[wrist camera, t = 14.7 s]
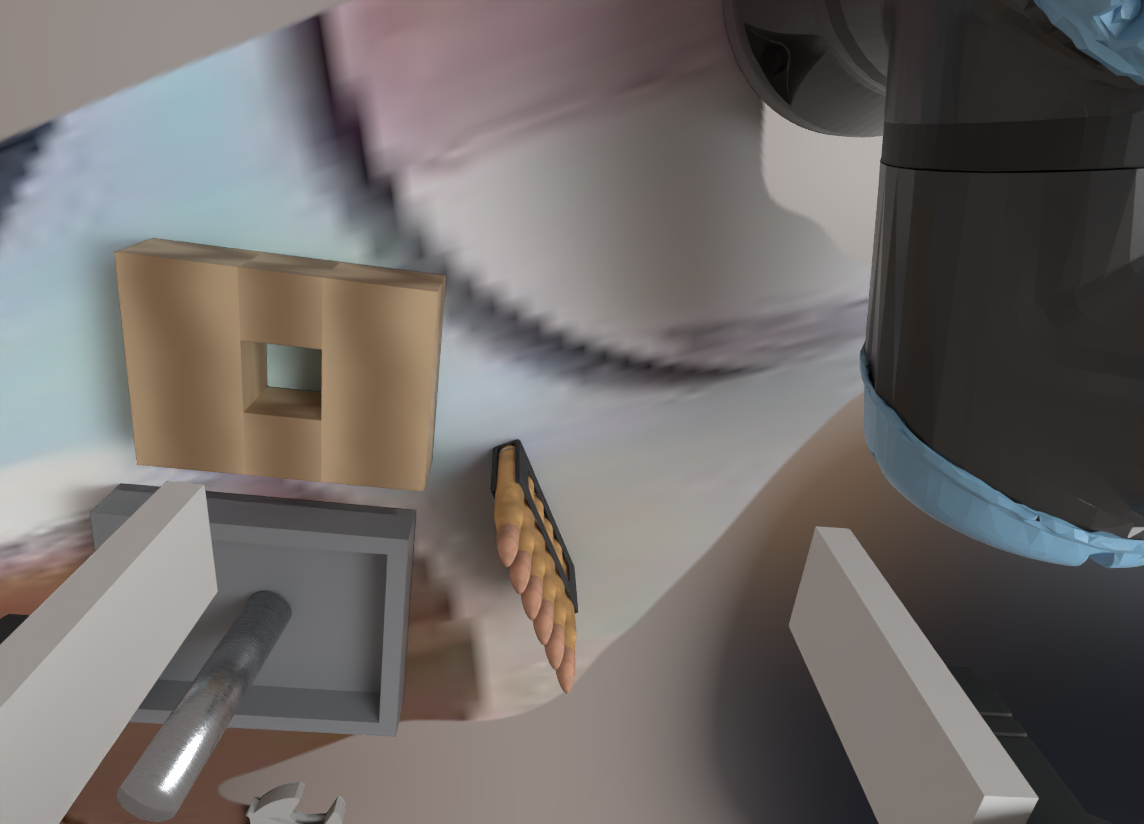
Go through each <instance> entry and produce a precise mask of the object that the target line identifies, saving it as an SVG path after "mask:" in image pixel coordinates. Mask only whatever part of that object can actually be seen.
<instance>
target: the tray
mask: <svg viewBox="0 0 1144 824" xmlns="http://www.w3.org/2000/svg"><path fill="white" fill-rule="evenodd" d="M159 488H160V487H154V486H142V485H131V484H120V485H119V486H118V487H117V488H116V489H115V490H113V491H112V492H111V493H110V494H109V495H108V496H107V497H106V498H105V499H104V500H103V501H102V502H101V503H100V504H98V505H97V506H96V507H95V508H94V509H93V510H92V511H91V512H90V519H91V526H92V533H93V540H94V547H95V551H96V550H97V549H98V548H99V547H100V546H101V545H102V544H103V543H104V542H105V541H106V540H107V539H108V538H109V537H110V536H111V535H112V534H113V533H114V532H116V531H117V530H118V529H119V528H120V527H121V526H122V525H123V524H124V523H125V522H126V521H127V520H128V519H129V518H130V517H131V516H132V515H133V514H134V513H135V512H136V511H137V510H138V509H139V508H140V507H141V506H142V505H143V504H144V503H145V502H146V501H147V500H148V499H149V498H150V497H151V496H152V495H153V494H154V493H155V492H156V491H157V490H158V489H159ZM205 493H206V501H207V509H208V517H209V525H210V533H211V541H212V549H213V557H214V566H215V574H216V582H217V590H218V592H217V593H216V595H215V596H214V598H213V599H212V600H211V602H210V603H209V605H208V606H207V608H206V609H205V611H204V612H203V614H202V615H201V617H200V618H199V619H198V621H197V622H196V624H195V625H194V627H193V628H192V630H191V631H190V633H189V634H188V636H187V637H186V638H185V640H184V641H183V643H182V644H181V646H180V647H179V649H178V650H177V652H176V653H175V655H174V656H173V657H172V659H171V660H170V662H169V663H168V665H167V666H166V668H165V669H164V671H163V672H162V674H161V675H160V677H159V678H158V679H157V681H156V682H155V684H154V685H153V687H152V688H151V690H150V691H149V693H148V694H147V696H146V697H145V698H144V700H143V701H142V703H141V704H140V706H139V707H138V709H137V710H136V712H135V713H134V715H133V716H132V717H131V719H130V720H129V722H140V723H158V724H164V723H165V721H166V720H167V718H168V717H169V715H170V714H171V712H172V711H173V710H174V708H175V707H176V705H177V704H178V702H179V701H180V699H181V698H182V696H183V695H184V694H185V692H186V691H187V689H188V688H189V686H190V685H191V683H192V682H193V680H194V679H195V677H196V676H197V675H198V673H199V672H200V670H201V669H202V667H203V666H204V664H205V663H206V661H207V660H208V659H209V657H210V656H211V654H212V653H213V651H214V650H215V648H216V647H217V645H218V644H219V643H220V641H221V640H222V638H223V637H224V635H225V634H226V632H227V631H228V629H229V628H230V627H231V625H232V624H233V622H234V621H235V619H236V618H237V616H238V615H239V613H240V612H241V611H242V609H243V608H244V606H245V605H246V603H247V602H248V600H249V599H250V597H251V596H253V595H254V594H256V593H259V592H271V593H275V594H277V595H279V596H281V597H282V598H284V599H285V600H286V601H287V602H288V603H289V605H290V607H291V610H292V616H291V619H290V620H289V622H288V624H287V626H286V627H285V629H284V631H283V632H282V634H281V636H280V637H279V639H278V641H277V643H276V644H275V646H274V648H273V649H272V651H271V653H270V654H269V656H268V658H267V660H266V661H265V663H264V665H263V666H262V668H261V670H260V671H259V673H258V675H257V677H256V678H255V680H254V682H253V683H252V685H251V687H250V688H249V690H248V692H247V694H246V695H245V697H244V699H243V700H242V702H241V704H240V705H239V707H238V709H237V711H236V712H235V714H234V716H233V717H232V719H231V721H230V722H229V724H228V726H227V727H231V728H249V729H267V730H285V731H303V732H321V733H339V734H357V735H375V736H394V737H395V736H396V733H397V729H398V724H399V719H400V714H401V709H402V705H403V700H404V687H405V672H406V657H407V642H408V627H409V612H410V597H411V582H412V567H413V552H414V537H415V522H416V510H408V509H397V508H386V507H375V506H364V505H353V504H342V503H331V502H320V501H309V500H297V499H286V498H275V497H264V496H253V495H242V494H231V493H220V492H209V491H205Z"/></svg>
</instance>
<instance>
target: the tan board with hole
mask: <svg viewBox="0 0 1144 824" xmlns="http://www.w3.org/2000/svg"><path fill="white" fill-rule="evenodd" d="M114 254H115V264H116V273H117V283H118V292H119V301H120V311H121V320H122V329H123V339H124V348H125V357H126V367H127V376H128V386H129V395H130V404H131V414H132V423H133V432H134V442H135V451H136V461H137V465H146V466H156V467H167V468H178V469H189V470H199V471H210V472H221V473H231V474H242V475H253V476H263V477H274V478H285V479H296V480H306V481H317V482H328V483H338V484H349V485H360V486H371V487H381V488H392V489H403V490H413V491H424V490H425V486H426V482H427V479H428V475H429V471H430V467H431V463H432V458H433V444H434V431H435V417H436V404H437V390H438V377H439V363H440V350H441V337H442V323H443V310H444V296H445V283H446V275H439V274H431V273H423V272H415V271H407V270H399V269H391V268H383V267H376V266H368V265H360V264H352V263H344V262H336V261H328V260H320V259H313V258H305V257H297V256H289V255H281V254H273V253H265V252H258V251H250V250H242V249H234V248H226V247H218V246H210V245H202V244H195V243H187V242H179V241H171V240H163V239H155V238H152V239H149V240H146V241H144V242H141V243H138V244H135V245H132V246H129V247H127V248H124V249H121V250H118V251H115V252H114ZM266 343H269V344H278V345H286V346H295V347H304V348H313V349H322V392H315V391H305V390H296V389H286V388H277V387H268V386H267V348H266Z"/></svg>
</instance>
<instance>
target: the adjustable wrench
mask: <svg viewBox="0 0 1144 824" xmlns="http://www.w3.org/2000/svg"><path fill="white" fill-rule="evenodd" d="M304 787H305V783H302V782H295V783H288V784H284V785H280V786H278V787H275V788H274V789H272V790H270V791H268V792H267V793H265V794H264V795H263V796H262V797H261V798H260V797H257V796H254V799H253V801H252V804H251V805H250V807H249V809H248V811H247V813H246V816H247V817H249V819H250V824H343V821H344V817H345V812H346V804H345V802H344V799H343V798H342V797H340V796H338V797H337V799H336V800H335V801H334V803H333V804H332V806H331V808H330V809H329V810H328V812H327V813H319V814H306V813H304V812H301V811H298V810H295V807H296V806H297V804H298V802H299V801H300V799H301V796H302V793H303V790H304Z"/></svg>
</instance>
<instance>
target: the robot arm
mask: <svg viewBox="0 0 1144 824" xmlns="http://www.w3.org/2000/svg"><path fill="white" fill-rule="evenodd" d="M723 11H724V18H725V25H726V29H727V34H728V38H729V41H730V44H731V47H732V50H733V53H734V55H735V58H736V60H737V63H738V65H739V67H740V69H741V71H742V72H743V74H744V76H745V78H746V79H747V81H748V82H749V84H750V85H751V87H752V88H753V89H754V91H755V92H756V93H757V94H758V95H759V97H760V98H761V99H762V100H763V101H764V102H765V103H766V104H767V105H768V106H769V107H771V108H772V109H773V110H774V111H775V112H777V113H778V114H779V115H781V116H782V117H784V118H785V119H787V120H789V121H790V122H792V123H795V124H796V125H798V126H801V127H803V128H805V129H808V130H811V131H815V132H818V133H823V134H828V135H836V136H847V137H874V136H882V135H883V144H882V157H881V160H880V174H879V187H878V199H877V211H876V222H875V234H874V247H873V258H872V269H871V281H870V293H869V305H868V316H867V328H866V340H865V343H864V345H863V348H862V350H861V353H860V370H861V376H862V379H863V382H864V384H865V386H864V433H865V438H866V442H867V445H868V449H869V451H870V453H871V455H872V456H873V457H874V458H875V460H876V461H877V462H878V464H879V466H880V469H881V471H882V472H883V474H884V476H885V477H886V479H887V480H888V481H889V482H890V483H891V484H892V485H893V486H894V487H895V488H896V489H897V490H898V491H899V492H900V493H901V494H902V495H903V496H904V497H905V498H907V499H908V500H909V501H910V502H912V503H913V504H914V505H915V506H917V507H918V508H920V509H921V510H922V511H924V512H925V513H927V514H928V515H930V516H932V517H933V518H935V519H936V520H938V521H940V522H942V523H943V524H945V525H947V526H949V527H951V528H953V529H955V530H957V531H959V532H961V533H963V534H965V535H967V536H969V537H971V538H973V539H976V540H978V541H981V542H983V543H985V544H988V545H991V546H993V547H996V548H999V549H1002V550H1005V551H1008V552H1011V553H1014V554H1017V555H1021V556H1024V557H1028V558H1033V559H1037V560H1041V561H1045V562H1050V563H1056V564H1062V565H1069V566H1079V565H1081V564H1082V563H1083V562H1084V561H1086V560H1087V558H1090V559H1092V560H1094V561H1095V562H1097V563H1099V564H1101V565H1103V566H1104V567H1107V568H1124V567H1136V566H1141V565H1144V0H723ZM217 592H218V590H217V582H216V574H215V566H214V557H213V549H212V541H211V533H210V525H209V517H208V509H207V501H206V493H205V485H204V484H198V483H184V482H169V481H166V482H165V483H164V484H163V485H162V486H161V487H160V488H159V489H158V490H157V491H156V492H155V493H154V494H153V495H152V496H151V497H150V498H149V499H148V500H147V501H146V502H145V503H144V504H143V505H142V506H141V507H140V508H139V509H138V510H137V511H136V512H135V513H134V514H133V515H132V516H131V517H130V518H129V519H128V520H127V521H126V522H125V523H124V524H123V525H122V526H121V527H120V528H119V529H118V530H117V531H116V532H114V533H113V534H112V535H111V536H110V537H109V538H108V539H107V540H106V541H105V542H104V543H103V544H102V545H101V546H100V547H99V548H98V549H97V550H96V551H95V552H94V553H93V554H92V555H91V556H90V557H89V558H88V559H87V560H86V561H85V562H84V563H83V564H82V565H81V566H80V567H79V568H78V569H77V570H76V571H75V572H74V573H73V574H72V575H71V576H70V577H69V578H68V579H67V580H66V581H65V582H64V583H63V584H62V585H61V586H60V587H58V588H57V589H56V590H55V591H54V592H53V593H52V594H51V595H50V596H49V597H48V598H47V599H46V600H45V601H44V602H43V603H42V604H41V605H40V606H39V607H38V608H37V609H36V610H35V611H34V612H33V613H32V614H31V615H16V614H8V615H6V616H4V617H3V618H1V619H0V824H59V823H60V821H61V820H62V818H63V817H64V815H65V814H66V813H67V811H68V810H69V808H70V807H71V805H72V804H73V802H74V801H75V799H76V798H77V796H78V795H79V794H80V792H81V791H82V789H83V788H84V786H85V785H86V783H87V782H88V780H89V779H90V777H91V776H92V775H93V773H94V772H95V770H96V769H97V767H98V766H99V764H100V763H101V761H102V760H103V758H104V757H105V756H106V754H107V753H108V751H109V750H110V748H111V747H112V745H113V744H114V742H115V741H116V739H117V738H118V736H119V735H120V734H121V732H122V731H123V729H124V728H125V726H126V725H127V723H128V722H129V720H130V719H131V717H132V716H133V715H134V713H135V712H136V710H137V709H138V707H139V706H140V704H141V703H142V701H143V700H144V698H145V697H146V696H147V694H148V693H149V691H150V690H151V688H152V687H153V685H154V684H155V682H156V681H157V679H158V678H159V677H160V675H161V674H162V672H163V671H164V669H165V668H166V666H167V665H168V663H169V662H170V660H171V659H172V657H173V656H174V655H175V653H176V652H177V650H178V649H179V647H180V646H181V644H182V643H183V641H184V640H185V638H186V637H187V636H188V634H189V633H190V631H191V630H192V628H193V627H194V625H195V624H196V622H197V621H198V619H199V618H200V617H201V615H202V614H203V612H204V611H205V609H206V608H207V606H208V605H209V603H210V602H211V600H212V599H213V598H214V596H215V595H216V593H217ZM789 627H790V630H791V632H792V634H793V636H794V638H795V641H796V643H797V645H798V647H799V649H800V652H801V654H802V656H803V658H804V660H805V663H806V665H807V667H808V669H809V671H810V673H811V676H812V678H813V680H814V682H815V685H816V687H817V689H818V691H819V693H820V695H821V698H822V700H823V702H824V704H825V706H826V709H827V711H828V713H829V715H830V717H831V720H832V722H833V724H834V726H835V728H836V731H837V733H838V735H839V737H840V739H841V742H842V744H843V746H844V748H845V750H846V753H847V755H848V757H849V759H850V761H851V764H852V766H853V768H854V770H855V772H856V774H857V777H858V779H859V781H860V783H861V786H862V788H863V790H864V792H865V794H866V796H867V799H868V801H869V803H870V805H871V807H872V809H873V812H874V814H875V816H876V818H877V821H878V823H879V824H1113V823H1110V822H1108V821H1106V820H1104V819H1101V818H1098V817H1096V816H1094V815H1088V814H1087V812H1086V811H1085V810H1084V809H1083V807H1082V806H1081V804H1080V803H1079V802H1078V800H1077V799H1076V798H1075V796H1074V795H1073V794H1072V792H1071V791H1070V790H1069V789H1068V787H1067V786H1066V785H1065V783H1064V782H1063V781H1062V779H1061V778H1060V777H1059V775H1058V774H1057V773H1056V771H1055V770H1054V769H1053V767H1052V766H1051V765H1050V763H1049V762H1048V761H1047V759H1046V758H1045V757H1044V755H1043V754H1042V753H1041V752H1040V750H1039V749H1038V747H1037V746H1036V745H1035V744H1034V742H1033V741H1032V740H1031V739H1028V738H1027V733H1026V732H1025V730H1024V729H1023V728H1022V726H1021V725H1020V724H1019V723H1018V721H1017V720H1016V718H1012V713H1011V712H1010V711H1009V709H1008V708H1007V706H1006V705H1005V704H1004V703H1003V701H1002V700H1001V699H1000V697H999V696H998V695H997V693H996V692H995V691H994V689H993V688H991V687H990V686H989V685H988V684H987V683H985V682H984V681H983V680H982V679H980V678H979V677H978V676H977V675H976V674H974V673H973V672H972V671H970V670H969V669H968V668H967V667H956V666H946V665H945V664H944V662H943V661H942V660H941V658H940V657H939V655H938V654H937V653H936V651H935V650H934V648H933V647H932V645H931V644H930V643H929V641H928V640H927V638H926V637H925V636H924V634H923V633H922V631H921V630H920V628H919V627H918V625H917V624H916V623H915V621H914V620H913V618H912V617H911V616H910V614H909V613H908V611H907V610H906V608H905V607H904V606H903V604H902V603H901V601H900V600H899V598H898V597H897V596H896V594H895V593H894V591H893V590H892V588H891V587H890V586H889V584H888V583H887V581H886V580H885V579H884V577H883V576H882V574H881V573H880V571H879V570H878V569H877V567H876V566H875V564H874V563H873V561H872V560H871V559H870V557H869V556H868V554H867V553H866V551H865V550H864V549H863V547H862V546H861V544H860V543H859V542H858V540H857V539H856V537H855V536H854V534H853V533H852V532H851V530H850V529H845V528H831V527H816V528H815V532H814V535H813V539H812V543H811V546H810V550H809V554H808V557H807V561H806V564H805V568H804V572H803V575H802V579H801V583H800V587H799V590H798V594H797V597H796V601H795V605H794V609H793V612H792V616H791V620H790V623H789Z"/></svg>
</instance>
